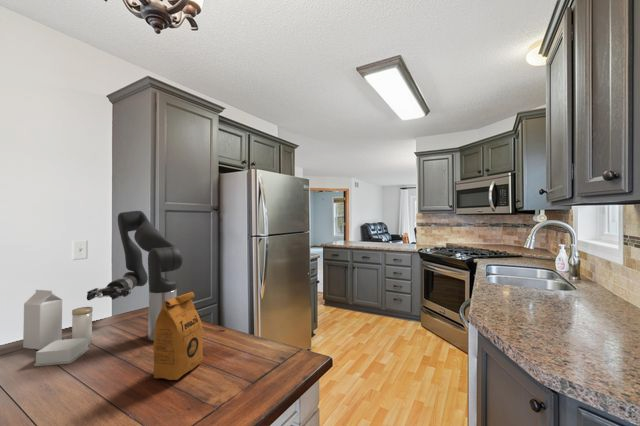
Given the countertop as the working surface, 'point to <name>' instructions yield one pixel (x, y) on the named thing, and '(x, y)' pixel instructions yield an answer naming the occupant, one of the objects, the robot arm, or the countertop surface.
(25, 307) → the milk carton
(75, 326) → the jar
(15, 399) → the countertop surface
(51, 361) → the riser
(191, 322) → the coffee package
